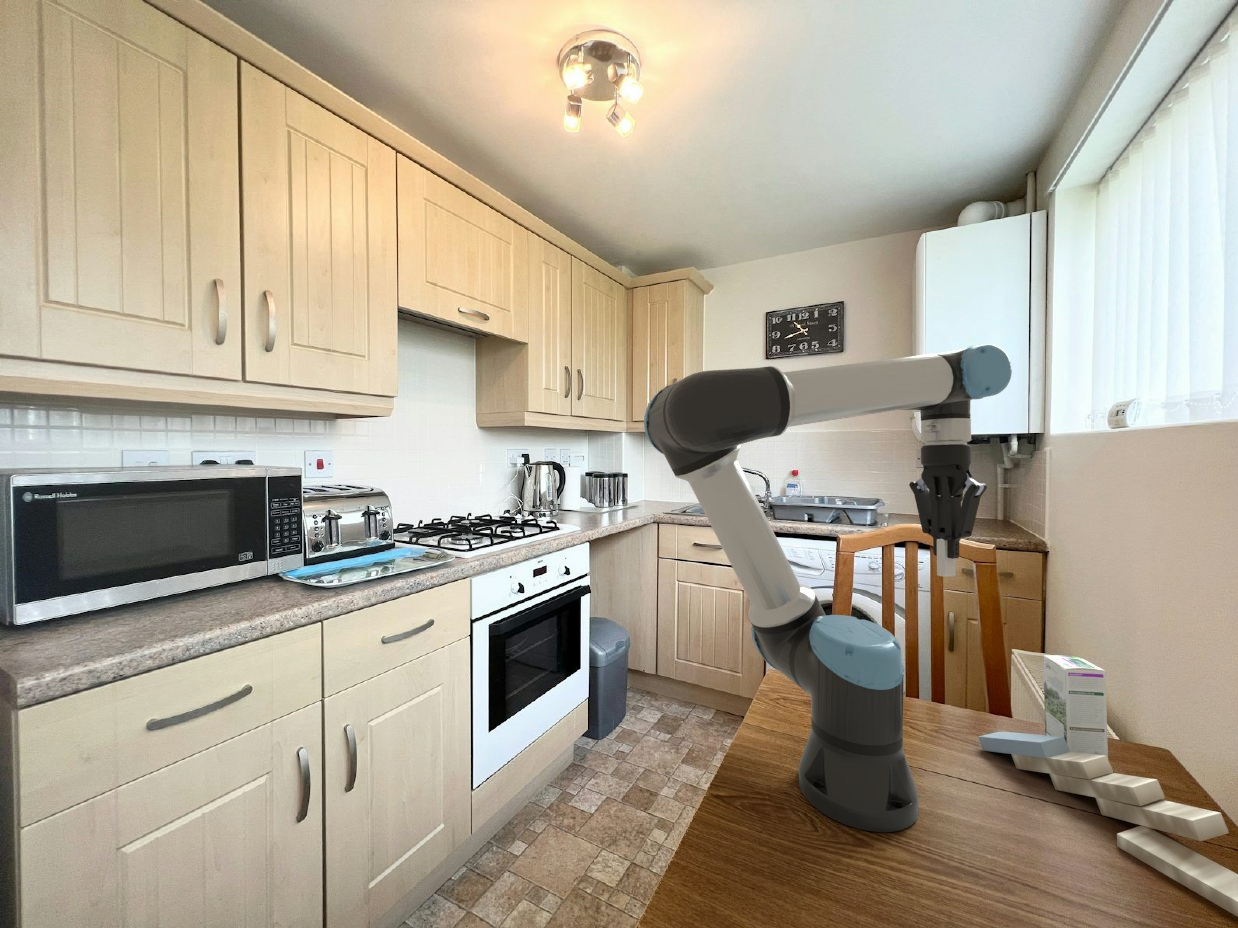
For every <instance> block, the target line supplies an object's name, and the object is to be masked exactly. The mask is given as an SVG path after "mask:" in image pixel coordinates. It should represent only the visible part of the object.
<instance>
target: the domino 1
mask: <svg viewBox="0 0 1238 928" xmlns="http://www.w3.org/2000/svg"><path fill="white" fill-rule="evenodd" d="M977 737H978V740H979V742H980V746H981V749H982V751H984V752H993V753H1001V754H1007V755H1008V754H1009V755H1010V754H1016V755H1024V756H1033V757H1041V758H1049V757H1053V756H1057V755H1061V754H1064V753H1068V752H1070V751H1069V748H1068V746H1067V743H1066V741H1065V738H1064V737H1061V736H1049V735H1045V734H1036V733H1033V734H1032V733H1023V732H1022V733H1021V732H1011V731H996V732H993V733H988V734H984V735H979V736H977Z"/></svg>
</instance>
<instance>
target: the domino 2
mask: <svg viewBox="0 0 1238 928" xmlns="http://www.w3.org/2000/svg"><path fill="white" fill-rule="evenodd" d="M1011 757H1012V760H1013V763H1014V765H1015V768H1016V769H1017V770H1022V771H1023V770H1024V771H1030V772H1038V773H1044V774H1049V775H1050V774H1056V775H1063V776H1070V777H1077V778H1083V779H1092V778H1096V777H1099V776H1102V775H1106V774H1109V773H1114V770H1113V768H1112V765H1111V763H1110V761H1109V757H1108V758H1107V756H1104V755H1095V754H1086V753H1076V752H1068V753H1064V754H1061V755H1057V756H1053V757H1049V758H1041V757H1033V756H1024V755H1016V754H1011Z"/></svg>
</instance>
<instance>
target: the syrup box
mask: <svg viewBox="0 0 1238 928" xmlns="http://www.w3.org/2000/svg"><path fill="white" fill-rule="evenodd" d="M1042 660H1043V697H1044V699H1043V700H1044V701H1043V702H1044V705H1043V706H1044V735H1049V736H1061V737H1064V738H1065V741H1066V743H1067V746H1068V748H1069V751H1070V752H1076V753H1086V754H1095V755H1104V756H1107V758H1108V759H1109V751H1108V750H1109V749H1108V746H1109V745H1108V744H1109V743H1108V716H1107V706H1108V705H1107V703H1108V702H1107V675H1106V674H1107V671H1106V670H1105V669H1103V668H1101V667H1099V666H1098V665H1095V664H1093V663H1091V662H1089V661H1088V660H1086V659H1085V658H1082V657H1080V656H1073V655H1062V654H1058V655H1057V654H1055V655H1051V654H1050V655H1046V654H1043V659H1042Z"/></svg>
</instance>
